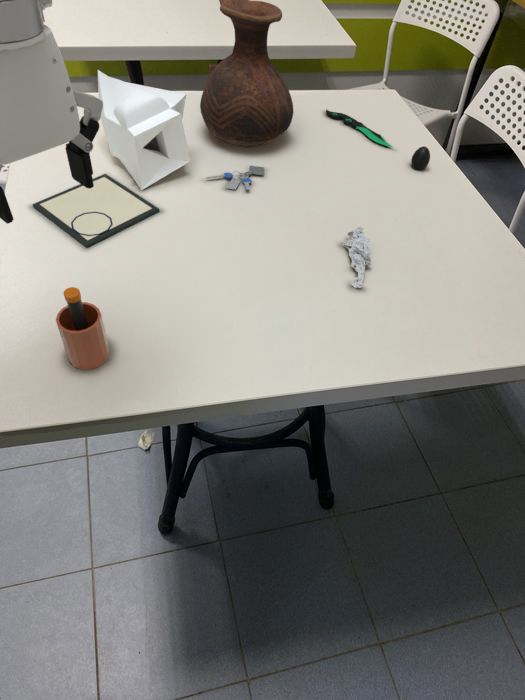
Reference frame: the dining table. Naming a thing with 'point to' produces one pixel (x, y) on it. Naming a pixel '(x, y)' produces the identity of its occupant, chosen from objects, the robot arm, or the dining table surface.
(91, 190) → the drawing mat
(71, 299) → the marker
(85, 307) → the pen cup
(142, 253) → the dining table surface
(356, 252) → the paper
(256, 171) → the key chain
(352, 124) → the knife
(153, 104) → the folded paper
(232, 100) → the jug
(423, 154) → the egg
